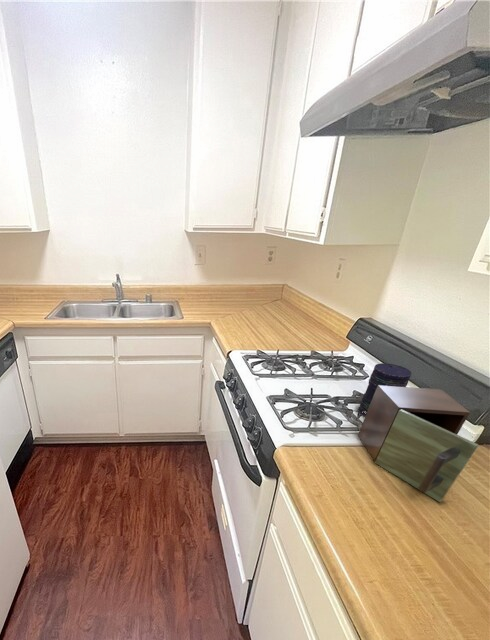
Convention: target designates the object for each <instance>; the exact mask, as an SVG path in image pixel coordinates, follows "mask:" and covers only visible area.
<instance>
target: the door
mask: <svg viewBox="0 0 490 640" xmlns="http://www.w3.org/2000/svg"><path fill="white" fill-rule="evenodd" d="M478 447H479V444H478V443H476V442H474V441H472V440H471V439H467V438H465V437H463V436H461V435H459V434H454V433H452V432H450V431H448V430H446V429H443V428H441V427H439V426H437V425H435V424H433V423H430V422H428V421H426V420H424V419H422V418H419V417H417V416H415V415H413V414H411V413H409V412H406V411H404V410H402V409H401V410H399V412H398V414H397V416H396V418H395V420H394V422H393V425H392V427H391V429H390V431H389V433H388V435H387V438H386V440H385V442H384V444H383V446H382V448H381V450H380V453H379V455H378V457H377V459H376V461H374V463H375V464H376V465H378V466H380V467H381V468H383V469H384V470H386V471H387V472H389V473H391V474H392V475H394V476H396V477H398V478H399V479H400V480H402V481H404V482H405V483H407V484H408V485H410V486H412V487H414V488H415V489H417V490H418V491H419V492H422V493H423V494H424V495H427V496H429V497H430V498H432V499H433V500H435V501H437V502H438V503H441V502H443V500H444V499H445V498H446V496H447V495H448V493H449V491H450V490H451V488H452V487H453V485H454V484H455V482H456V480H457V479H458V477H459V476H460V475H461V473H462V472H463V470H464V468H465V467H466V465H467V463H468V462H469V461H470V459H471V458H472V457H473V455H474V453H475V451H476V450H477V448H478Z"/></svg>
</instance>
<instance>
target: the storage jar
mask: <svg viewBox="0 0 490 640" xmlns="http://www.w3.org/2000/svg"><path fill="white" fill-rule="evenodd" d="M412 374H413V373H412V371H411V370H410V369H408V368H407V367H404V366H401V365H398V364H393V363H386V362H385V363H384V362H382V363H376V364H375V365H374V368H373V370H372V372H371V374H370V377H369V379H368V385H367V387H366V390H365V392H364V393H363V395H362V398H361V399H360V402H359V406H358V408H357V412H358V413H359V414H360V415H361V416H363V417H364V418H365V416H366V414H365V413H364V412H363V413H362V411H366V412H367V411H368V408H369V406H370V403H371V401H372V398H373V396H374V394H375V391H376V389H377V386H378V385H381V386H396V387H408V385H409V381H410V378H411V377H412Z"/></svg>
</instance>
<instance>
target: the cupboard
mask: <svg viewBox="0 0 490 640" xmlns="http://www.w3.org/2000/svg"><path fill="white" fill-rule="evenodd" d="M401 409H402V410H404V411H406V412H409V413H411V414H413V415H415V416H417V417H419V418H422V419H424V420H426V421H428V422H430V423H433V424H435V425H437V426H439V427H441V428H443V429H446V430H448V431H450V432H452V433H454V434H457V435H459V432H460V430H461V429H462V428H463V426H464V424H465V422H466V421H467V419H468V418H469V415H470V414H471V411H469V410H468V409H467V408H466V407H464V406H463V405H462V404H460V403H459V402H458V401H456V400H455V399H454V398H453V397H451V396H450V395H449V394H447V392H445V391H444V390H443V389H439V388H425V387H412V386H411V387H409V386H406V387H396V386H381V385H378V386H377V389H376V391H375V394H374V396H373V398H372V401H371V403H370V406H369V408H368V411H367V413H366V416H365V417H364V419H363V420H362V423H361V426H360V428H359V430H358V432H357V437H358V438H359V440H360V441H361V443H362V444H363V446H364V448H365V449H366V451H367V452H368V453H369V455H370V456H371V458H372V459H373V461H374V462H375V461H376V459H377V457H378V455H379V453H380V450H381V448H382V446H383V444H384V442H385V440H386V438H387V435H388V433H389V431H390V429H391V427H392V425H393V422H394V420H395V418H396V416H397V414H398V412H399V410H401Z"/></svg>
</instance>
